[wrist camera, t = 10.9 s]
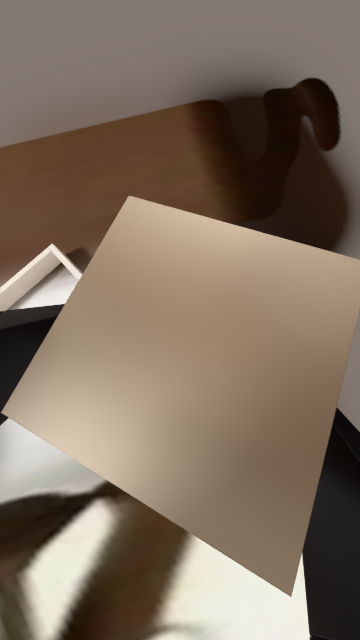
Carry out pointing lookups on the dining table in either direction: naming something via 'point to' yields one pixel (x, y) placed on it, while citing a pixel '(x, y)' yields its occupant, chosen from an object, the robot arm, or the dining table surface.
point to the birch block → (201, 377)
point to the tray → (34, 275)
